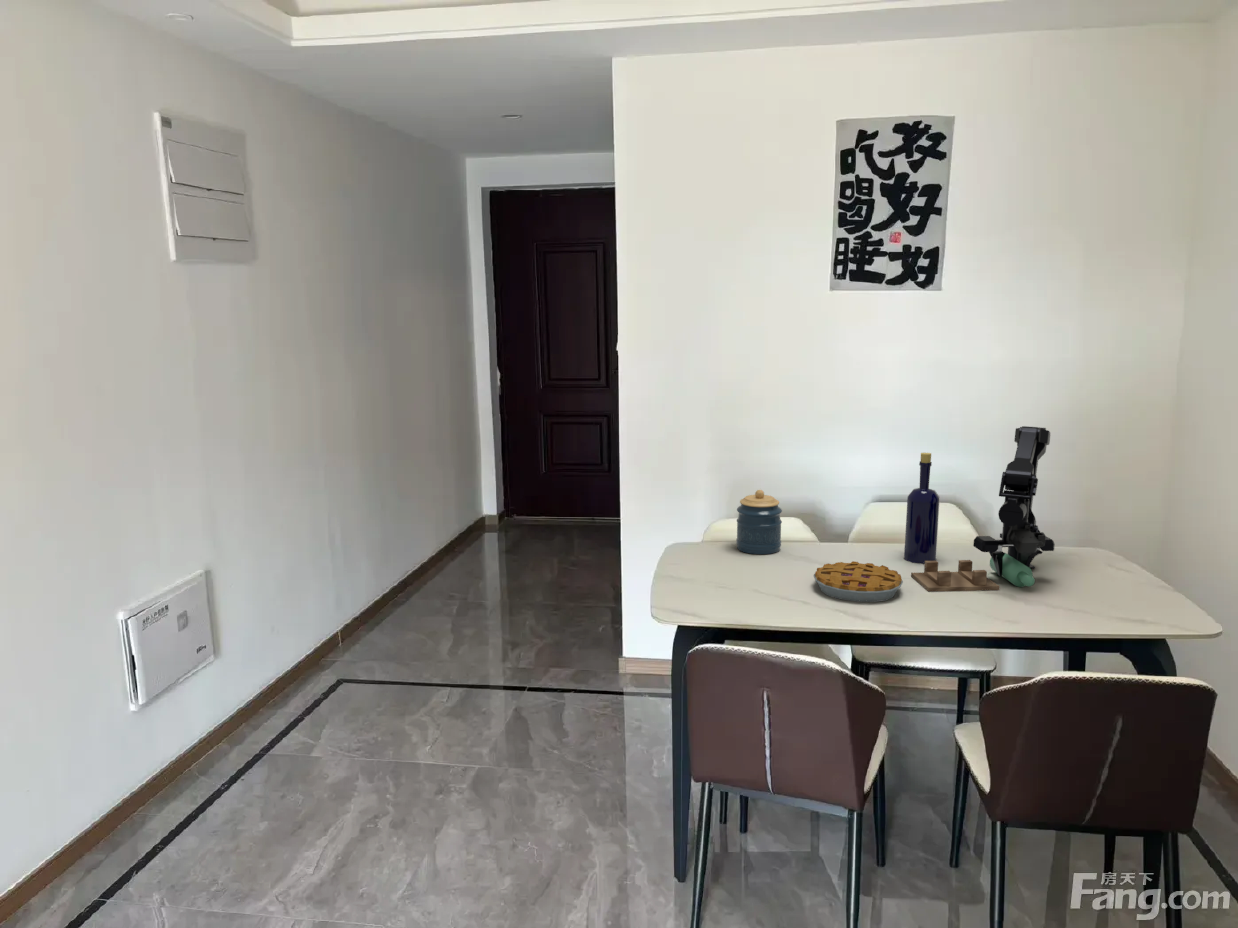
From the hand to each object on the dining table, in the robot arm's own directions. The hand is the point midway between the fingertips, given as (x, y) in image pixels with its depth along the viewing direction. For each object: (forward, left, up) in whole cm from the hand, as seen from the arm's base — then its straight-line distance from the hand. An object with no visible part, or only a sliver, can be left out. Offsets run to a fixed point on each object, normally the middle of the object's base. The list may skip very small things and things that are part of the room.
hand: (1011, 575), depth 229 cm
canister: (-32, -59, -2) cm, 68 cm away
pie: (+5, -41, -2) cm, 42 cm away
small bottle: (+1, 0, -1) cm, 2 cm away
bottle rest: (+2, -15, -1) cm, 16 cm away
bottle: (-19, -16, -1) cm, 26 cm away
